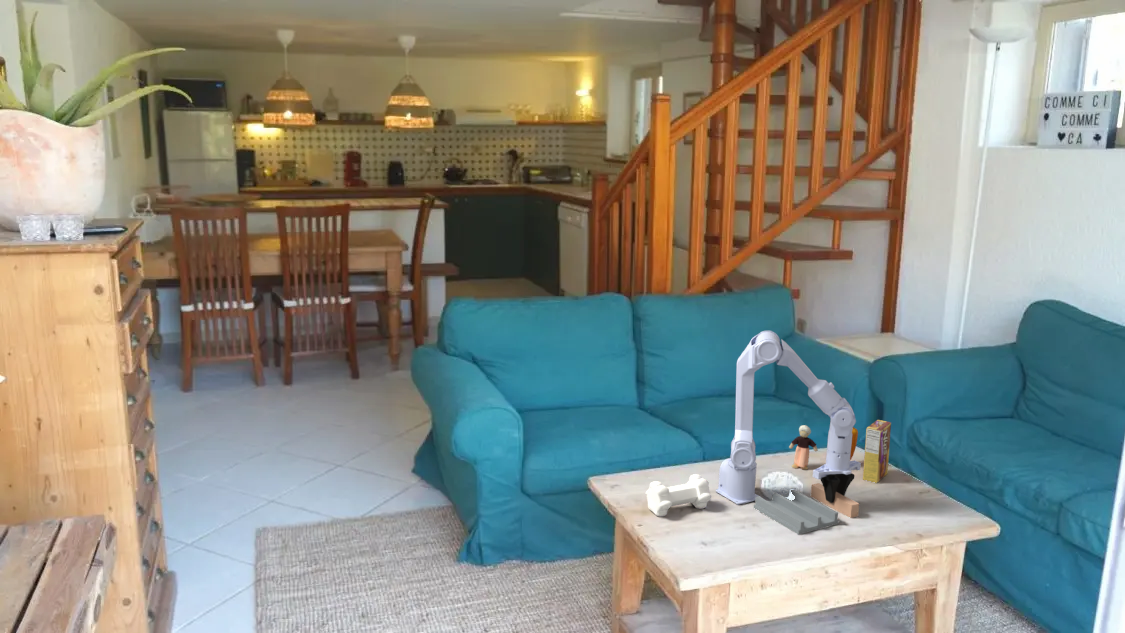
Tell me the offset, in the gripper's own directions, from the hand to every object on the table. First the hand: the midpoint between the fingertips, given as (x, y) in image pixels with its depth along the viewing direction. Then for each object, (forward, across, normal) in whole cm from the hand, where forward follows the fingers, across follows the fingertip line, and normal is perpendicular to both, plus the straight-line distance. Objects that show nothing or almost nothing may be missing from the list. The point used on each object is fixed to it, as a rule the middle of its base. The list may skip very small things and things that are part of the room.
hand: (834, 500), depth 218 cm
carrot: (+2, +24, +19) cm, 31 cm away
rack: (+2, -13, 0) cm, 13 cm away
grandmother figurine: (+2, +11, +23) cm, 26 cm away
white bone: (+2, -37, +16) cm, 40 cm away
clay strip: (+2, 0, 0) cm, 2 cm away
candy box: (+2, +25, +9) cm, 26 cm away
